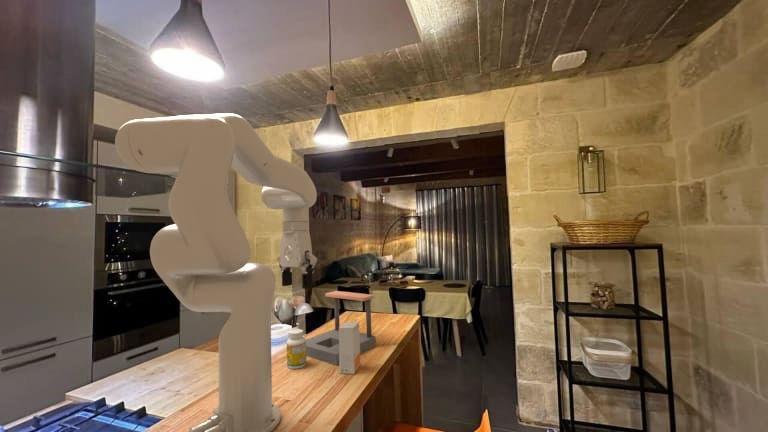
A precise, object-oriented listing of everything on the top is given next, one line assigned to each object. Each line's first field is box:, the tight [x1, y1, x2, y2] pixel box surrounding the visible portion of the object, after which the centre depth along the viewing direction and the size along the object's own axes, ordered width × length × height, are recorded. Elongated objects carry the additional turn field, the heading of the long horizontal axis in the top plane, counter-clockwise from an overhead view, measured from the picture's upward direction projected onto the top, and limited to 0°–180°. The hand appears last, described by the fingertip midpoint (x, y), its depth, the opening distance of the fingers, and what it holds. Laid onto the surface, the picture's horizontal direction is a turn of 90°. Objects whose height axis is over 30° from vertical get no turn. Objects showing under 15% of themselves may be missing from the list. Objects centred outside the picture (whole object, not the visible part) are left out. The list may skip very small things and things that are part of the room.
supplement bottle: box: [286, 328, 307, 370], centre depth 86 cm, size 5×5×10 cm
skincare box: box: [338, 321, 361, 375], centre depth 83 cm, size 6×4×12 cm
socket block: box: [306, 290, 377, 366], centre depth 98 cm, size 18×18×16 cm
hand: (297, 286), depth 88 cm, fingers open, 9 cm apart
